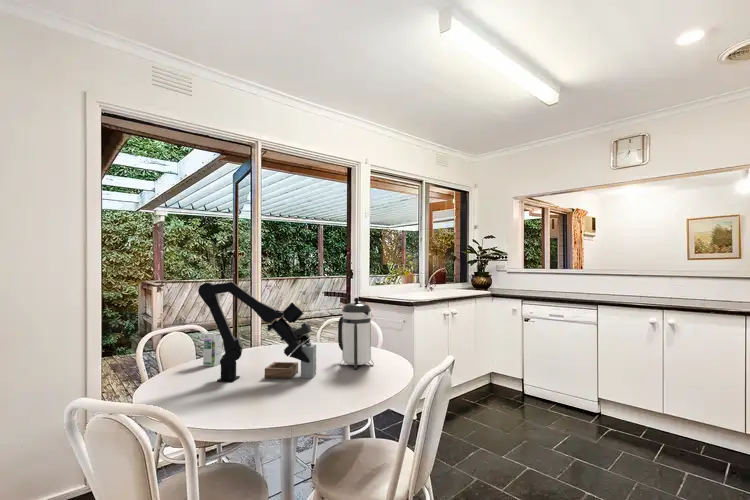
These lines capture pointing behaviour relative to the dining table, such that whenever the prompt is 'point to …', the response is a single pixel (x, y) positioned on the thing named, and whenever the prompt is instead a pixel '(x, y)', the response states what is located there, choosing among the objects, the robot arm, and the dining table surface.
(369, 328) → the coffee press
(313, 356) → the plug
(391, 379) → the dining table surface
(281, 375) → the socket
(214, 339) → the syrup box
